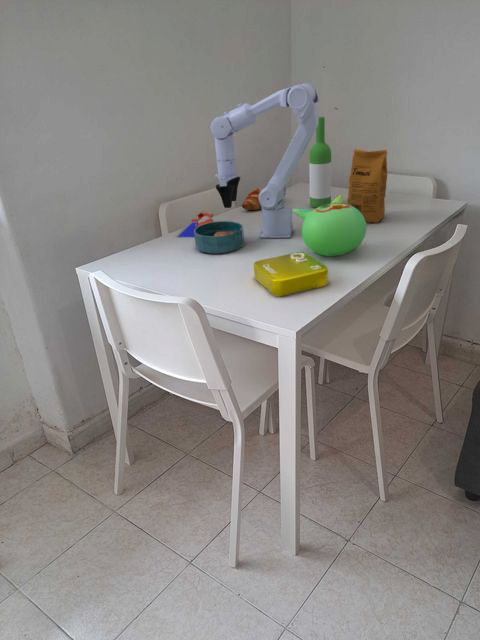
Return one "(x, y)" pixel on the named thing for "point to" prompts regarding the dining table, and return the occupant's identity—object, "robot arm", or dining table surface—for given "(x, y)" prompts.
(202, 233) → the teal mixing bowl
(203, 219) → the fish
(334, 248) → the green teapot
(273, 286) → the element tile
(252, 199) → the croissant
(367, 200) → the coffee package
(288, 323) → the dining table surface
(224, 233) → the drumstick
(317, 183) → the wine bottle
